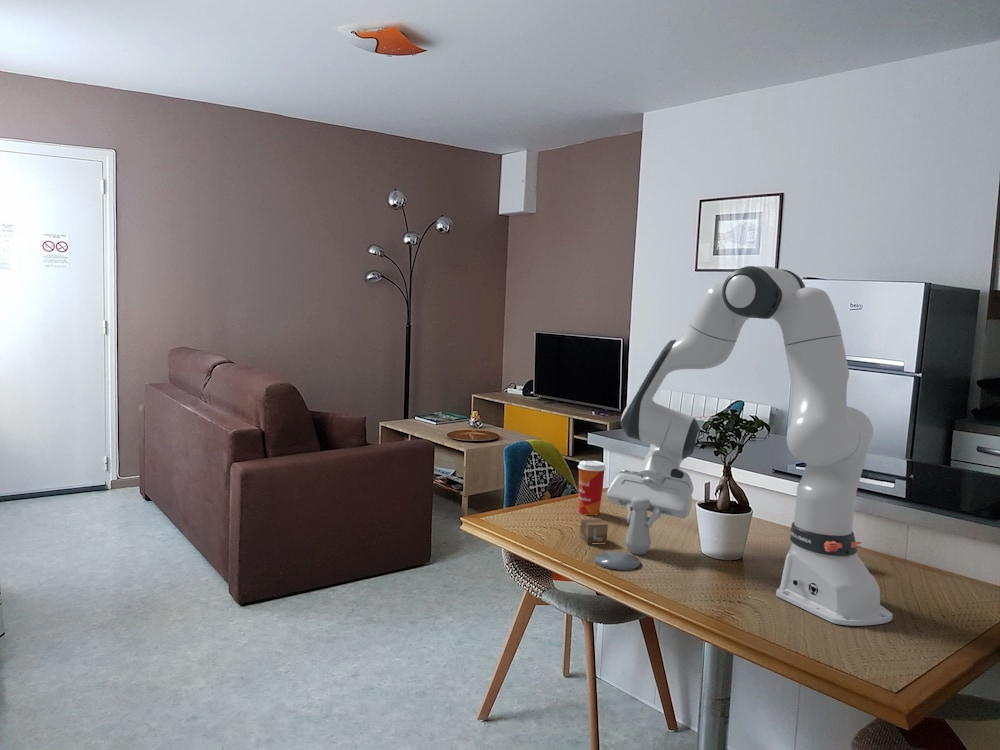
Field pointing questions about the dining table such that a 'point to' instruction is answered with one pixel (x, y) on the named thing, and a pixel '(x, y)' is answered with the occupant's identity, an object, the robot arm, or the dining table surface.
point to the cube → (593, 530)
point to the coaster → (617, 560)
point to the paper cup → (590, 486)
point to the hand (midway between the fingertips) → (638, 524)
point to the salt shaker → (638, 527)
